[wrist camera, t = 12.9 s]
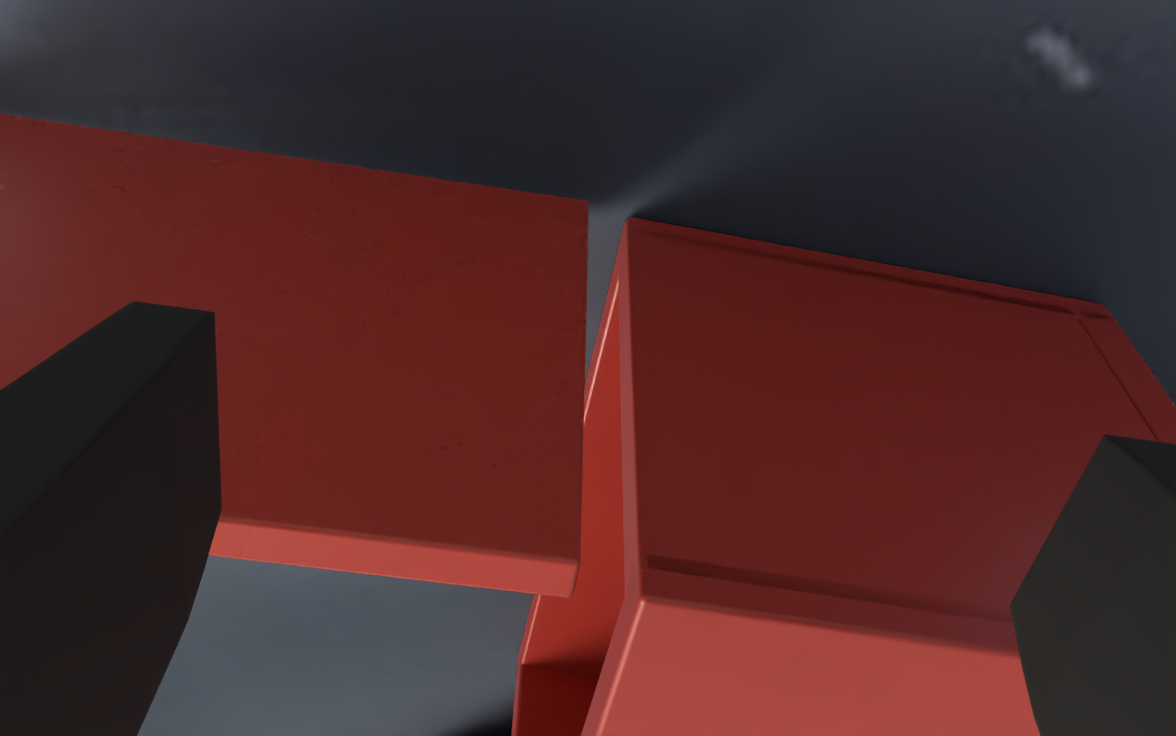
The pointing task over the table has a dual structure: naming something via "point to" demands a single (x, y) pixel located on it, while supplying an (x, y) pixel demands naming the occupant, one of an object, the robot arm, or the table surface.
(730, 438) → the cabinet
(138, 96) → the table surface
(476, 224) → the red cabinet door
